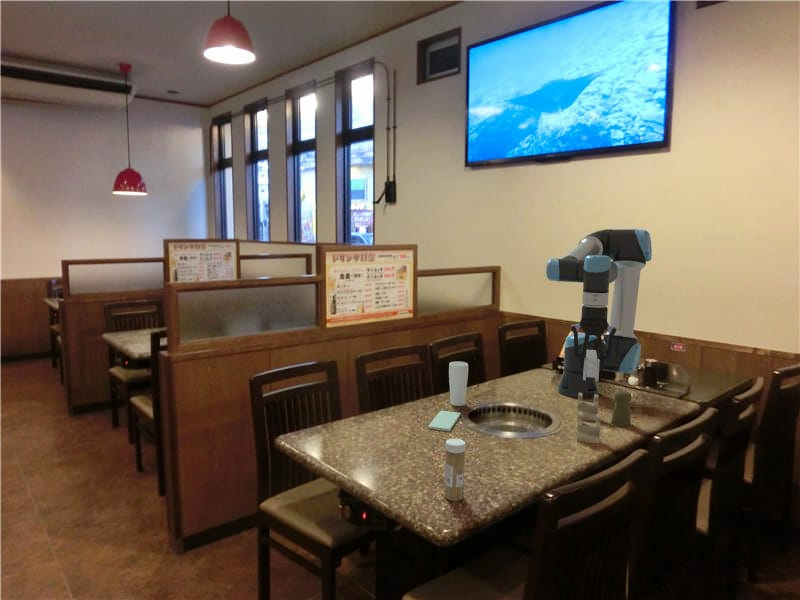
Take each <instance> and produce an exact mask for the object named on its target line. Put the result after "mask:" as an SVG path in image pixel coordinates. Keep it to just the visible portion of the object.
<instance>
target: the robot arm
mask: <svg viewBox="0 0 800 600" xmlns="http://www.w3.org/2000/svg"><path fill="white" fill-rule="evenodd" d="M652 248H653V247H652V240H651V233H650V232H649V231H648V230H647V229H637V228H631V229H629V228H628V229H627V228H626V229H623V228H622V229H611V228H607V229H600V230H597V231H594V232H591V233H589V234H588V235H586V236H583V238H581V239H580V240H579V242H578V244H577V246H575V247H574V248H573V249H571V251H569V252H568V253H567V254H565V255H564V256H563V257H562V258H550V259H549V260H548V261H547V263H546V268H545V269H546V270H545V273H546V278H547V279H548V280H549V281H554V282H558V283H559V282H567V283H583V284H582V286H583V287H582V288H583V289H582V298H581V299H582V300H581V303H582V306H581V318H580V320H579V323H576V324H572V325H571V331H572V333H573V334H570V335H568V336H566V338H565V343H564V354H563V355H564V358H563V373H562V375H561V378H560V380H559V382H558V385H557V392H558V393H560V394H561V395H563V396H566V397H571V398H576V399H578V396H579V393H582V399H594V394H595V395H598V396H599V394H600V388H599V384H598V382H599V378H600V377H599V376H600V374H599V373H600V371H601V372H602V371H604V372H605V371H606V372H613V373H618V374H621V373H622V374H629V375H630V374H633V373H634V372H635V370H636V368H637V367H638V364H639V361H640V358H641V353H642V351H641V350H642V344H641V343H639V342H638V337H637V336H636V335H635V333H634V331H635V324H636V323H635V321H636V313H637V305H638V297H639V289H640V288H639V287H640V278H641V271H642V270H643V269H644V268H646V265H647V263H648V262H650V261H652V256H653V255H652V253H653V251H652ZM613 282H614V283H613ZM611 283H613V291H612V301H611V310H610V318H609V322H608V310H609V308H608V307H607V306H608V305H609V298H610V297H609V295H610V284H611ZM580 328H581V329H582V331H583V332H584V333H583V332H581V333H579V332H580ZM605 331H606V332H605ZM603 333H604V334H603ZM602 335H603V338H602ZM586 350H596V354H597V362H598V378H594V377H587V373H586V365H587V358H586Z"/></svg>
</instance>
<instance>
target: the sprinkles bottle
mask: <svg viewBox="0 0 800 600" xmlns="http://www.w3.org/2000/svg"><path fill="white" fill-rule="evenodd" d="M465 453H466V441H465V440H463V439H461V438H449V439H447V440H446V441H445V460H446V461H445V470H444V471H445V475H444V476H445V478H444V479H445V480H444V481H445V492H444V497H445V498H446V499H447V500H449V501H453V502H459V501H461V500H463V499H464V498H465V494H464V490H465V487H464V485H465Z"/></svg>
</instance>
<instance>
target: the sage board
mask: <svg viewBox="0 0 800 600" xmlns="http://www.w3.org/2000/svg"><path fill="white" fill-rule="evenodd" d="M461 415H462V412H456V411H449V410H448V411H446V410H439V412H438V413H437V415H436V416H435V417H434V418H433V420H432V421H431V422H430V423H429V424H428V425H427V429H429V430H437V431H443V432H449V433H450V432H451V431H452V429H453V427H454V426H455V425H456V423H457V421H458V420H459V419H460V417H461Z"/></svg>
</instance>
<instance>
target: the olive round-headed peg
mask: <svg viewBox="0 0 800 600" xmlns="http://www.w3.org/2000/svg"><path fill="white" fill-rule="evenodd" d="M613 397H614V400H615V404H614V407H613V411H612V412H613V413H612V415H611V420H610V423H611V425H612V424H613V425H612V426H614V425H615V427H619V428H630V427H631V426H632V421H631V408H630V402H631V401H632V394H631V392H630V391H627V390H616V391H615V392H614V395H613Z"/></svg>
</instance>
